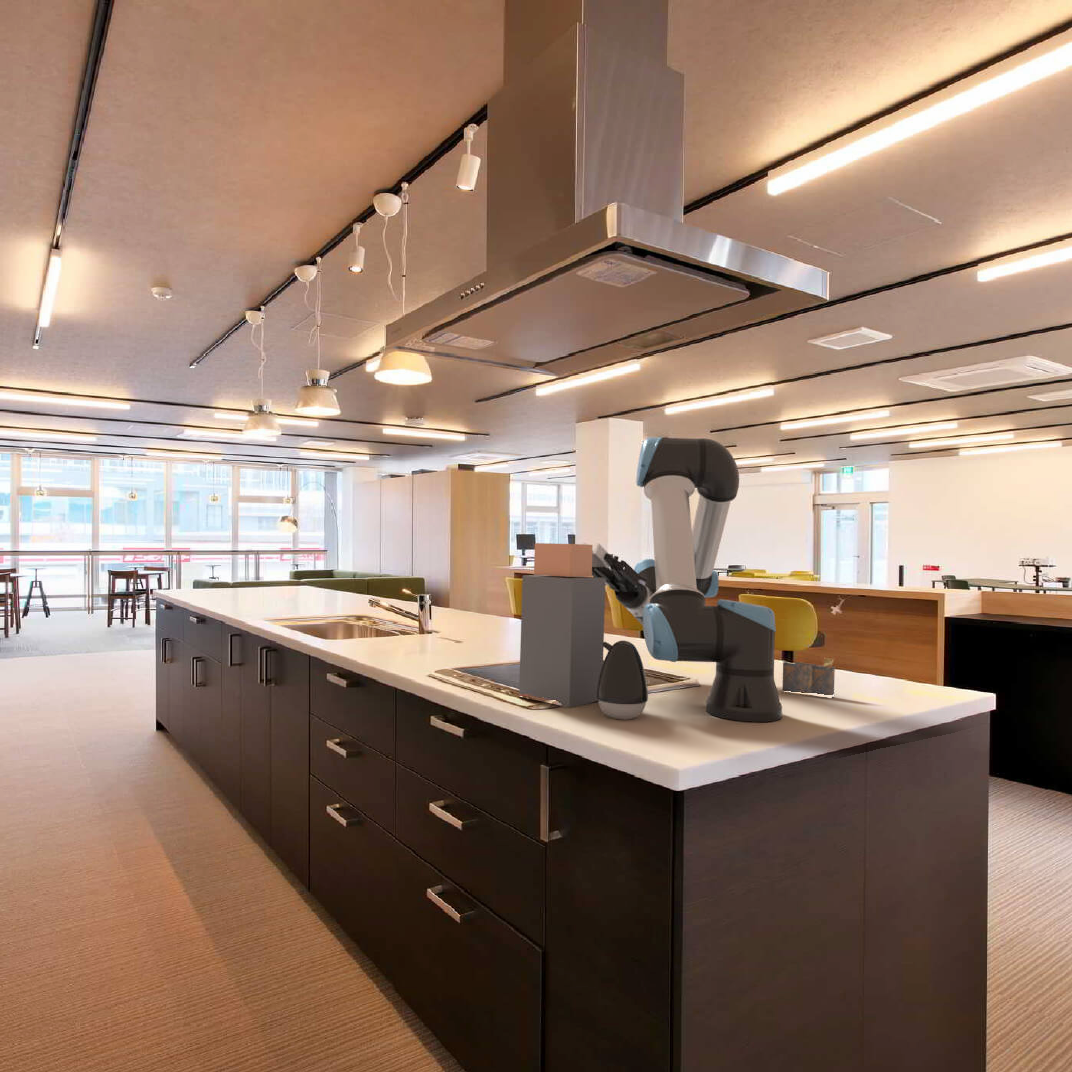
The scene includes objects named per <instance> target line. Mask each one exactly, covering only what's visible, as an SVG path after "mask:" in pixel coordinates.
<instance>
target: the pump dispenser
mask: <svg viewBox="0 0 1072 1072" xmlns="http://www.w3.org/2000/svg"><path fill="white" fill-rule="evenodd" d="M602 645H603V647H604V648H605V650H607V654H606V656H605V658H604V659H603V666H602V669H601V672H600V676H599V681H598V687H597V699H598V701H597V702H598V705H599V708H600V709H601V711H602V713H604V714H605V716H607V717H609V718H611V719H616V720H632V719H635V718H637V717H638V716H640V715H641V714H642V713H643V711H644V709H645V708H646V703H647V702H648V700H649V691H648V681H647V676H646V671H645V667H644V664H643V661H642V657H641V655H640V653H639V651H638V649H637V647H636V646H635V645H634V644H633V643H632V642H631V641H628V640H618V641H616V642H614V643H613V644H610V643H609V642H607V641H604V642H603V644H602ZM604 648H603V649H604Z"/></svg>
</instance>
